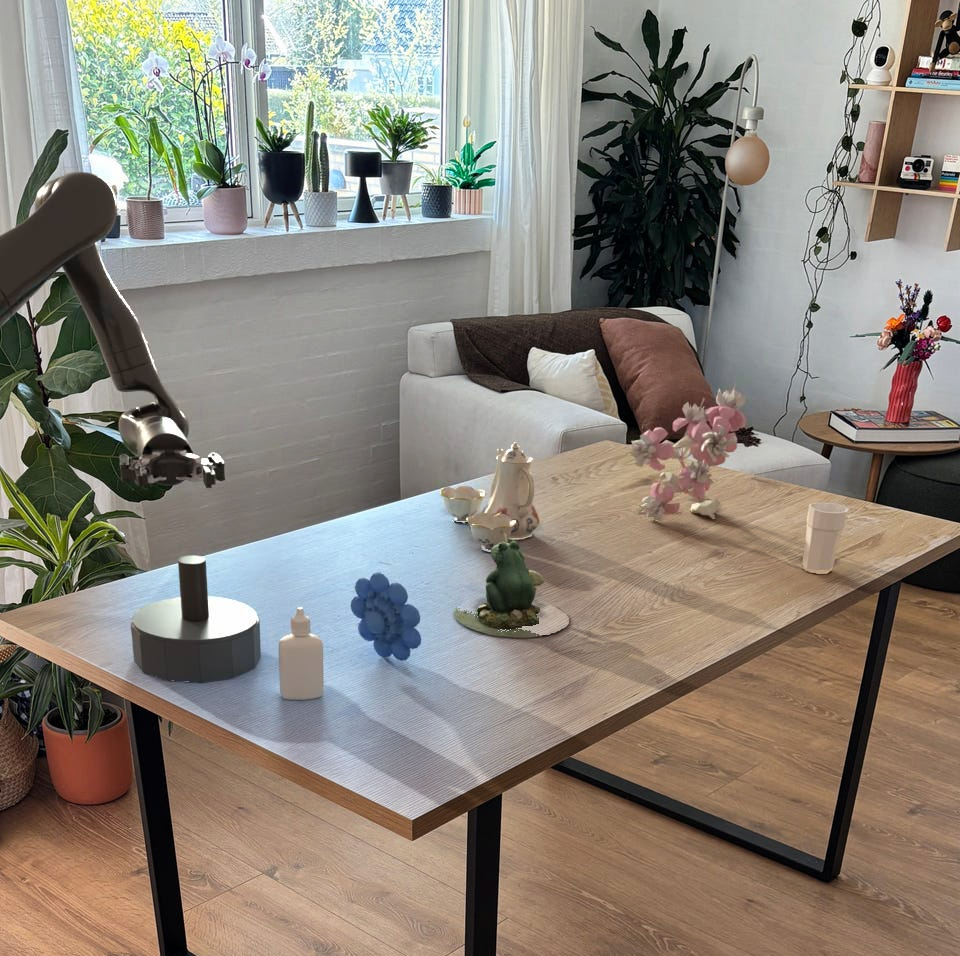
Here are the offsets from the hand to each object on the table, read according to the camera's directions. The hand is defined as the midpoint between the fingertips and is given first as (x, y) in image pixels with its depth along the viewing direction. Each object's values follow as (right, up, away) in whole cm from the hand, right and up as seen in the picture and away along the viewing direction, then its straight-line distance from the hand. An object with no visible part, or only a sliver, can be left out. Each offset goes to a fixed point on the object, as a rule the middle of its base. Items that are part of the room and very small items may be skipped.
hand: (177, 481), depth 177 cm
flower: (+79, +14, +74) cm, 109 cm away
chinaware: (+44, +7, +59) cm, 74 cm away
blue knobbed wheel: (+27, -24, +5) cm, 37 cm away
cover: (+2, -24, +2) cm, 24 cm away
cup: (+100, -1, +50) cm, 112 cm away
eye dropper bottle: (+18, -30, -7) cm, 36 cm away
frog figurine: (+46, -15, +22) cm, 53 cm away
